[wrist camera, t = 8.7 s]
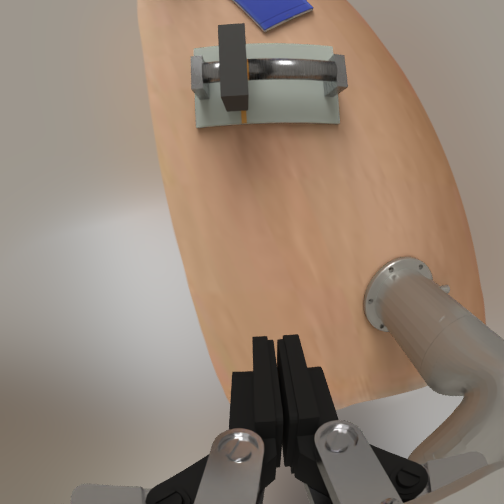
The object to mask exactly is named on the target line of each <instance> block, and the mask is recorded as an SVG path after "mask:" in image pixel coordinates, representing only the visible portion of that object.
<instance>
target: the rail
mask: <svg viewBox="0 0 504 504" xmlns="http://www.w3.org/2000/svg"><path fill="white" fill-rule="evenodd" d="M247 75H248V80H313V81H323V86H324V97H334V96H336V95H337V94H339V93H340V92H342V91H343V90H344V89H346V88H347V87H348V84H347V74H346V66H345V58H344V55H337V54H333V56H332V57H331V58H330V59H329V60H328V61H326V60H313V59H290V58H258V59H247ZM217 82H220V68H219V61H212V62H205V61H204V58H203V56H202V55H200V56H192V57H191V89H192V91H193V92H194V93H195V95H196V96H197V97H198V98H199V100H205V99H210V96H209V83H217Z"/></svg>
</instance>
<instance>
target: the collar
mask: <svg viewBox="0 0 504 504" xmlns="http://www.w3.org/2000/svg"><path fill="white" fill-rule="evenodd" d="M218 39H219V68H220V93H221V99H222V101H223V104H224V106H225V109H226V111H227V112H230V111H247V110H248V98H249V93H248V75H247V58H246V41H245V24H244V23H242V24H227V25H218Z"/></svg>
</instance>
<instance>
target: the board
mask: <svg viewBox="0 0 504 504" xmlns="http://www.w3.org/2000/svg"><path fill="white" fill-rule="evenodd" d="M200 55H202V56H203V58H204V61H205V62H212V61H219V46H211V47H203V48H195V49H194V56H200ZM332 56H333V47H331V46H321V45H308V44H286V43H257V44H246V58H247V59H258V58H290V59H313V60H326V61H328V60H329V59H330V58H331V57H332ZM248 93H249V98H248V110H247V111H230V112H227V111H226V109H225V106H224V104H223V101H222V99H221V93H220V82H217V83H209V96H210V99H205V100H199V98H198V97H197V96H196V95H195V115H196V128H204V127H214V126H227V125H242V124H264V123H321V124H340V116H339V103H338V94H337V95H336V96H334V97H324V86H323V81H313V80H248Z"/></svg>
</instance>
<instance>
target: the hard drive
mask: <svg viewBox="0 0 504 504" xmlns="http://www.w3.org/2000/svg"><path fill="white" fill-rule="evenodd" d="M232 1H233V2H235V3H236V4H237V5H238V6H239V7H240V8H241V9H242V10H243V11H244V12H245V13H246V14H247V15H248V16H249V17H250V18H251V19H252V20H253V21H254V22H255V23H256V24H257V25H258V26H259V27H260V28H261V29H262V30H263V31H264V32H266V31H268V30H270V29H272V28H274V27H276V26H278V25H280V24H282V23H285V22H287V21H289V20H291V19H293V18H296V17H298V16H300V15H302V14H305V13H307V12H310V11H312V10H313V7H312V6H311V5H310V4H309V3H308V2H307V1H306V0H232Z"/></svg>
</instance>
